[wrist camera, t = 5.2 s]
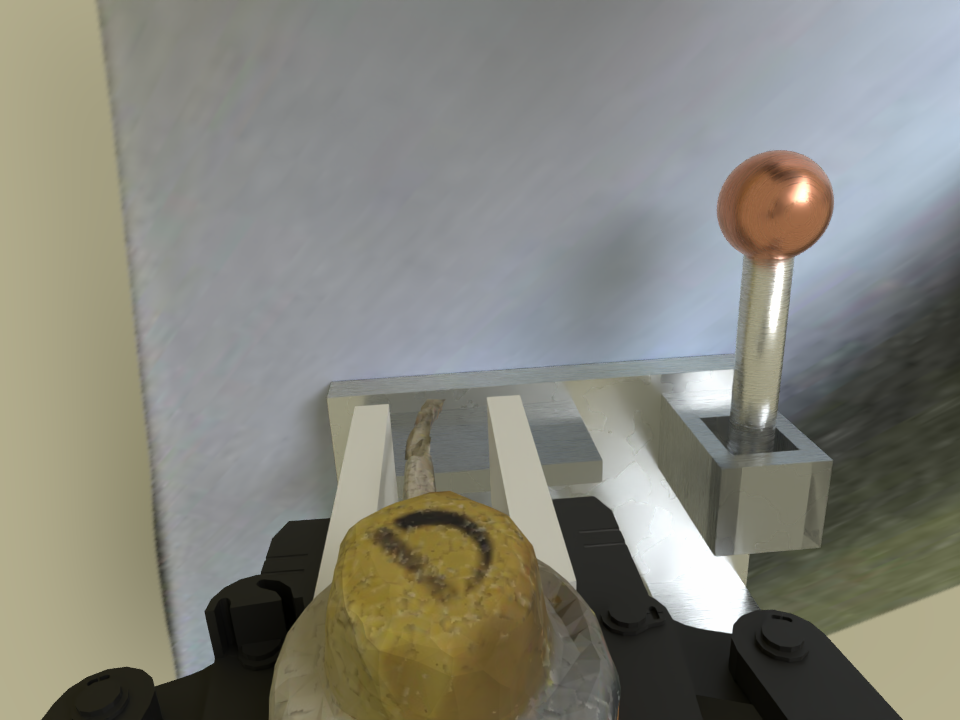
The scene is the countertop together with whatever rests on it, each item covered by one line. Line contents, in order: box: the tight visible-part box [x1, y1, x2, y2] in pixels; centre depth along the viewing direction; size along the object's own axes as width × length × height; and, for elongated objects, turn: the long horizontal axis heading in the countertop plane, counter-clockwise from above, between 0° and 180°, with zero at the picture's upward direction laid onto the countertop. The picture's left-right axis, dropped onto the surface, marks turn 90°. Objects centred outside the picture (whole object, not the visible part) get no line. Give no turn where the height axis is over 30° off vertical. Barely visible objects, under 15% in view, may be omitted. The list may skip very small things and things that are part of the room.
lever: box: [717, 150, 834, 455], centre depth 28 cm, size 14×4×4 cm, turn 2°
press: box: [327, 354, 833, 634], centre depth 29 cm, size 16×21×20 cm
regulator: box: [269, 399, 621, 720], centre depth 11 cm, size 8×4×15 cm, turn 4°
